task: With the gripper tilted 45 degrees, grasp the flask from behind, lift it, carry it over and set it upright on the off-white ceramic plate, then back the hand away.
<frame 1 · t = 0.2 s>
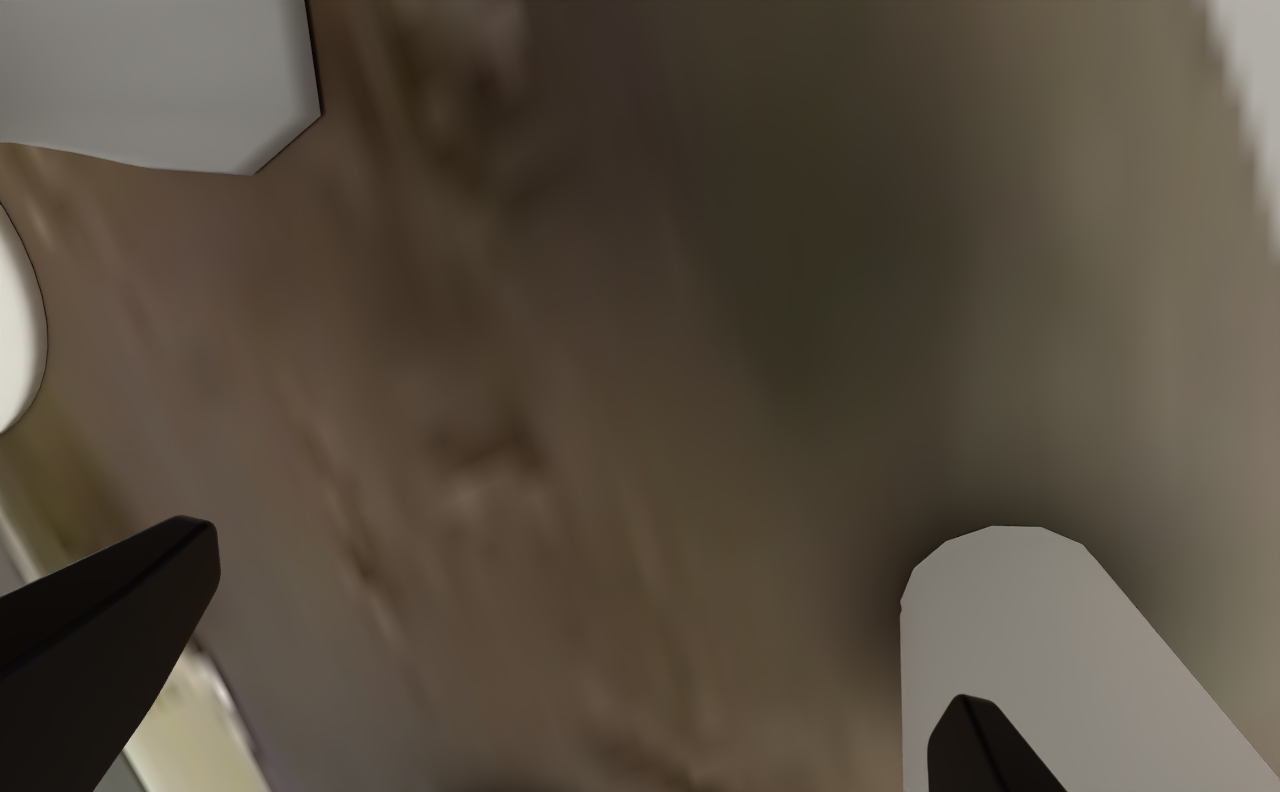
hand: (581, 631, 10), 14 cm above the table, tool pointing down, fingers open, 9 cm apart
flask: (197, 38, 21), on the table
foam cup: (1001, 601, 26), on the table
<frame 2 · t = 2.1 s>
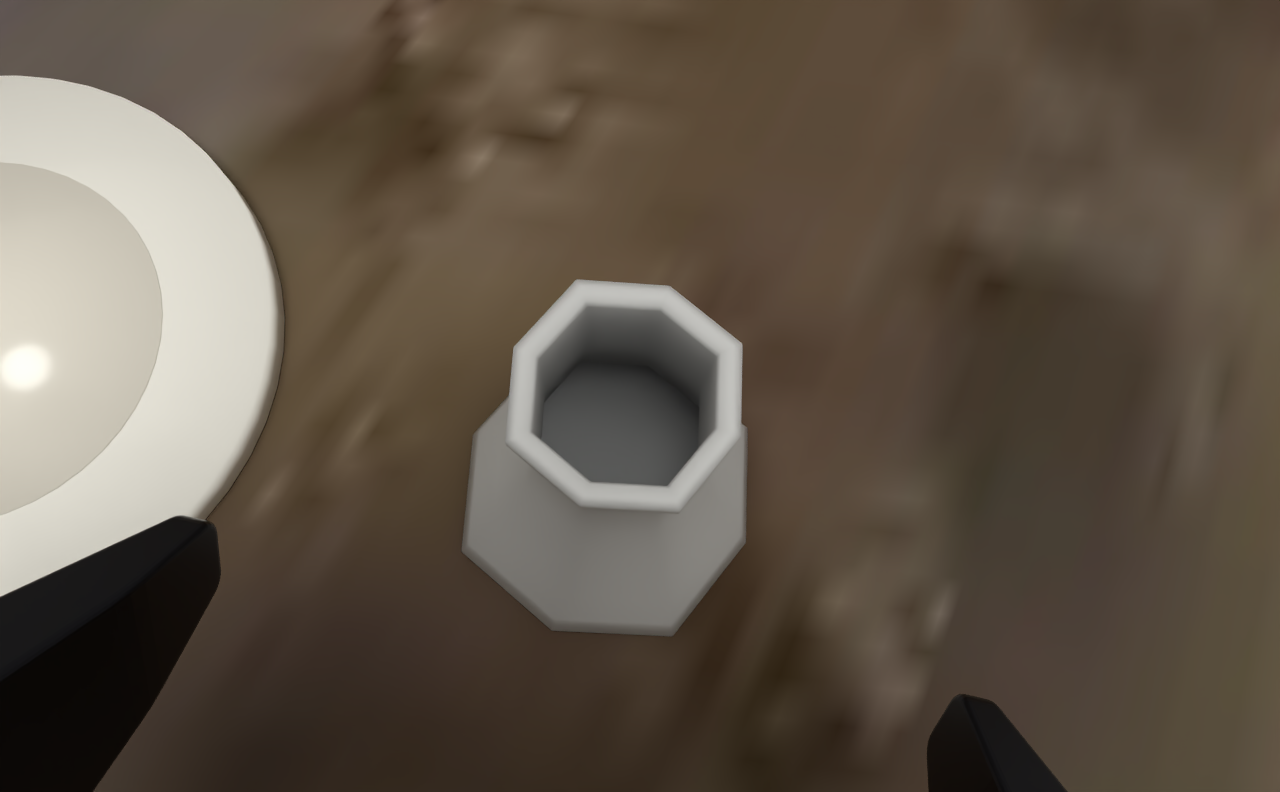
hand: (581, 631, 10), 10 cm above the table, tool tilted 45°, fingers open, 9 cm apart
flask: (608, 490, 20), on the table
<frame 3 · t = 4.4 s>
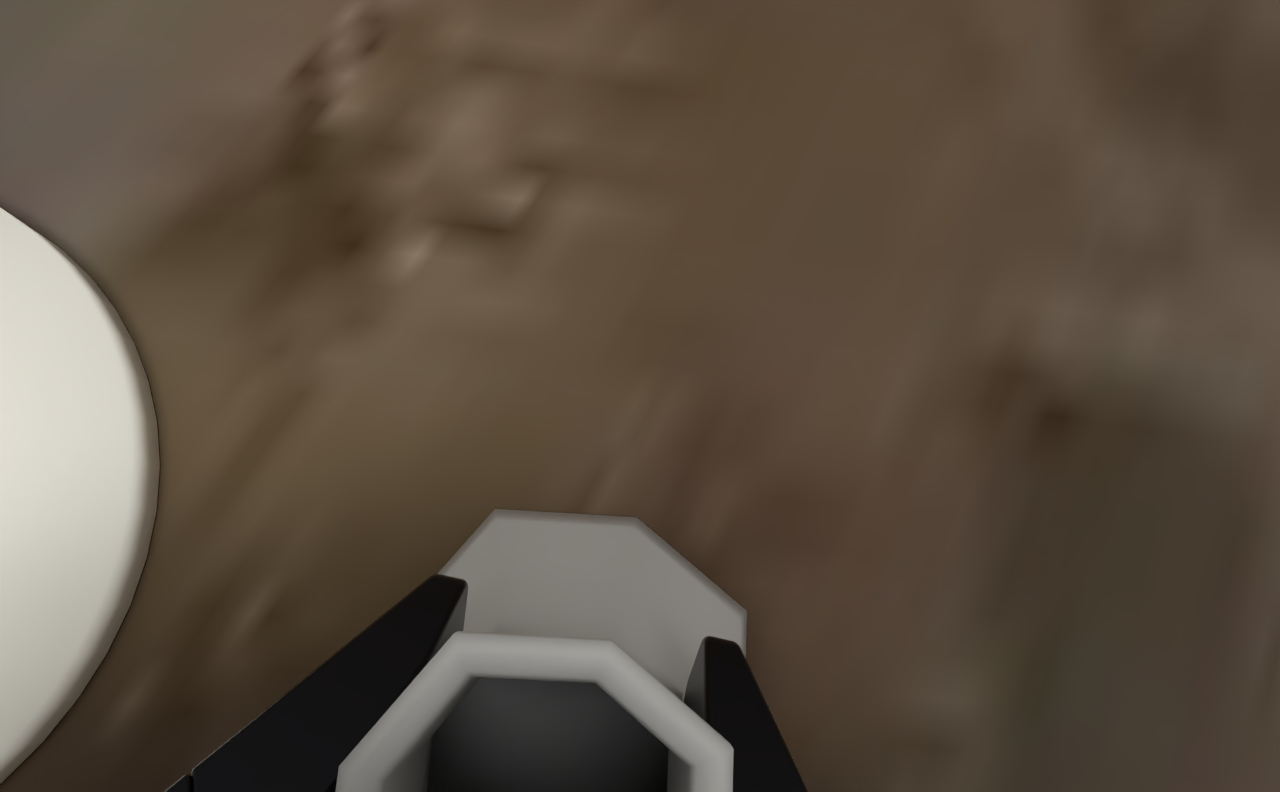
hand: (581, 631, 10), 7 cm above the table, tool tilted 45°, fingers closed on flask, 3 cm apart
flask: (568, 690, 16), on the table, touching gripper
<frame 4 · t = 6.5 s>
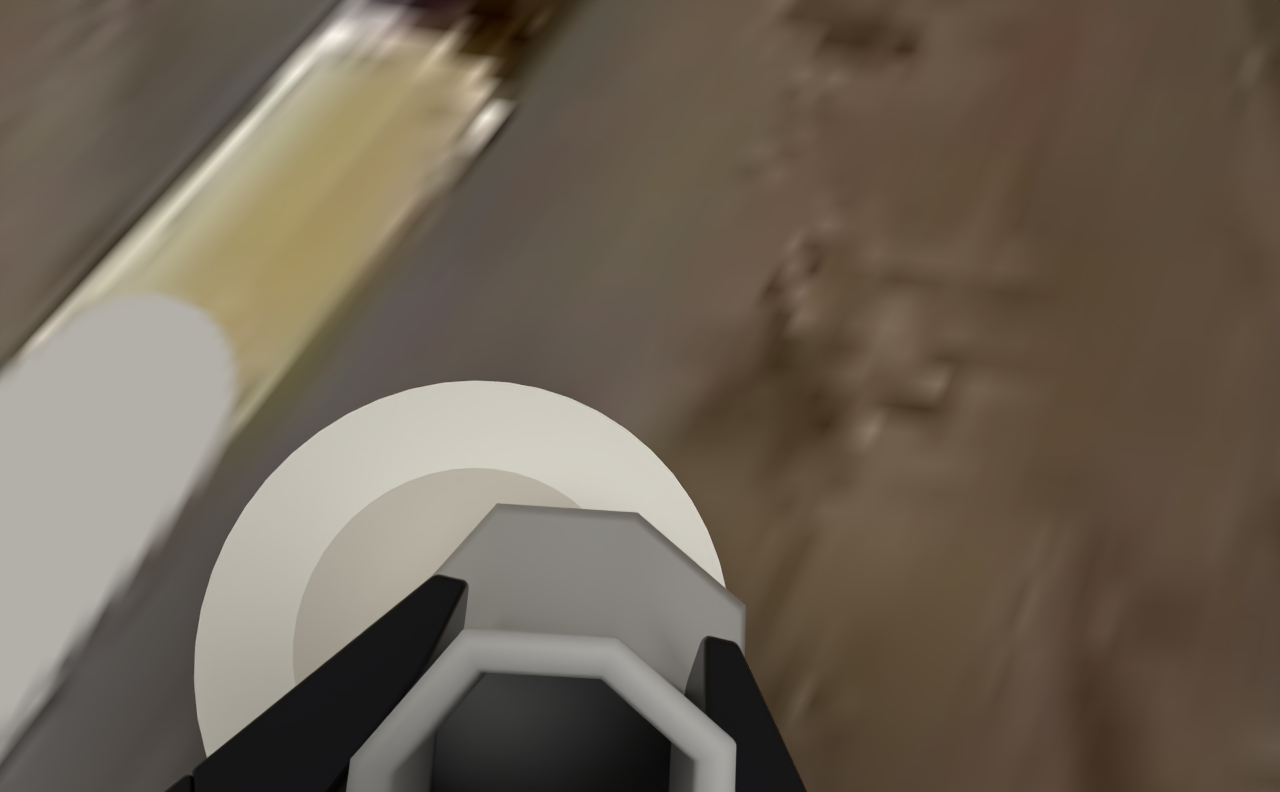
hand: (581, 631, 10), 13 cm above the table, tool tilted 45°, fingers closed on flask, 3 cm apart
flask: (568, 683, 16), point 6 cm above the table, touching gripper
ceramic plate: (473, 635, 22), on the table
when the fingers open (9 cm above the table, at t = 8.5 s): flask stays where it is, resting on ceramic plate.
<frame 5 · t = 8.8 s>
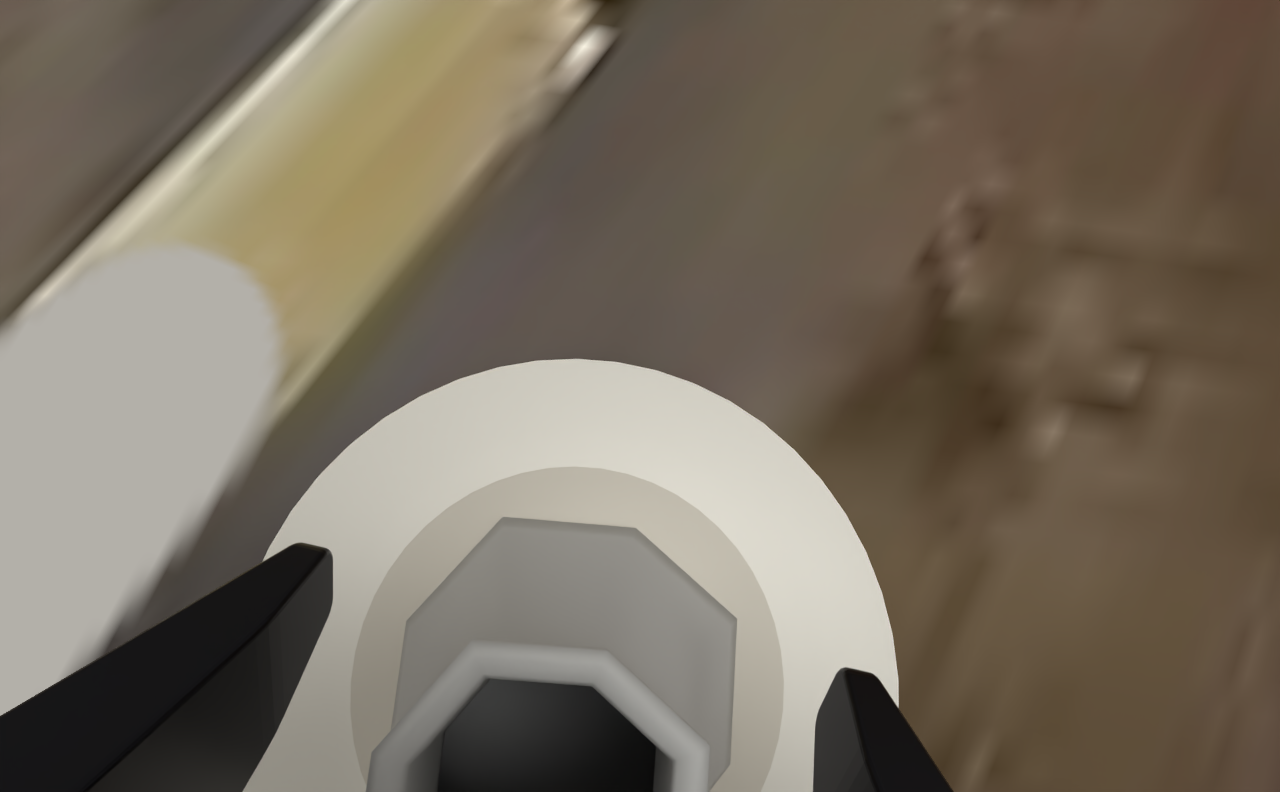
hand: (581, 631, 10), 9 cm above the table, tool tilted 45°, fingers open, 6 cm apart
flask: (567, 689, 17), point 1 cm above the table, touching ceramic plate
ceramic plate: (571, 675, 18), on the table
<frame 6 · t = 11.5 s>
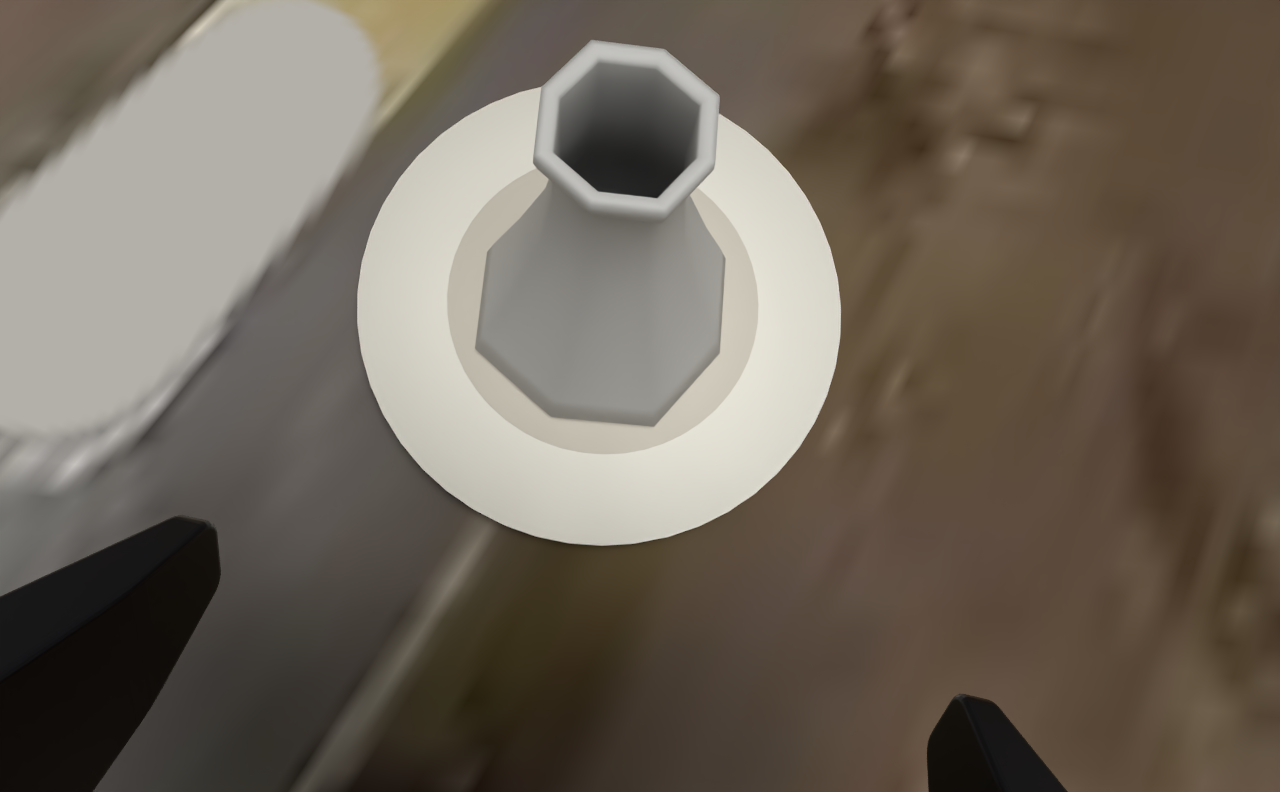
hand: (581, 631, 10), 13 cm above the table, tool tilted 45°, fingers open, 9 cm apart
flask: (602, 307, 24), point 1 cm above the table, touching ceramic plate
ceramic plate: (603, 310, 24), on the table
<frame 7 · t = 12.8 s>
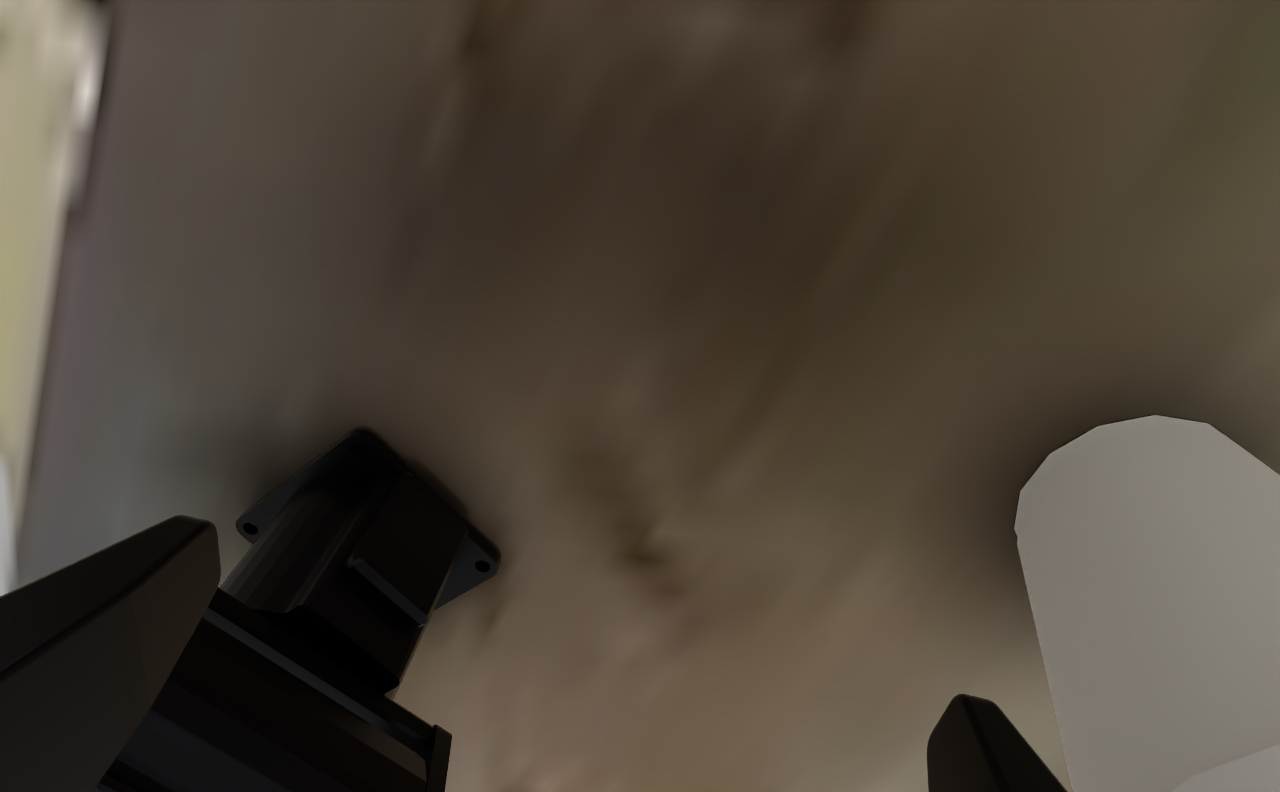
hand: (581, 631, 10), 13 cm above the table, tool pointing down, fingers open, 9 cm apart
foam cup: (1128, 504, 23), on the table
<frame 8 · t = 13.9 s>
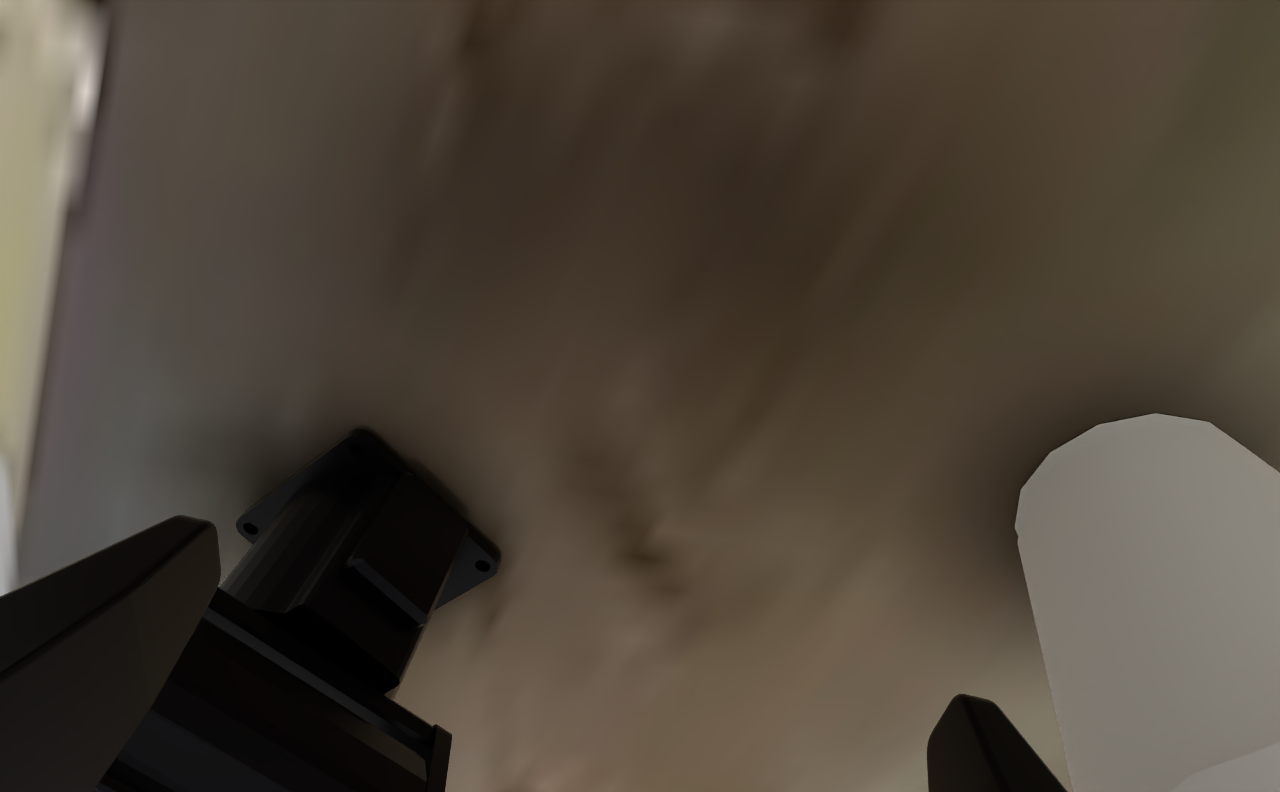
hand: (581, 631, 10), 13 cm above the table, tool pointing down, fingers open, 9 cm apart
foam cup: (1129, 503, 23), on the table
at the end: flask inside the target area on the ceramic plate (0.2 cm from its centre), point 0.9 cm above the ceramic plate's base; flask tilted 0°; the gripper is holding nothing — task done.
